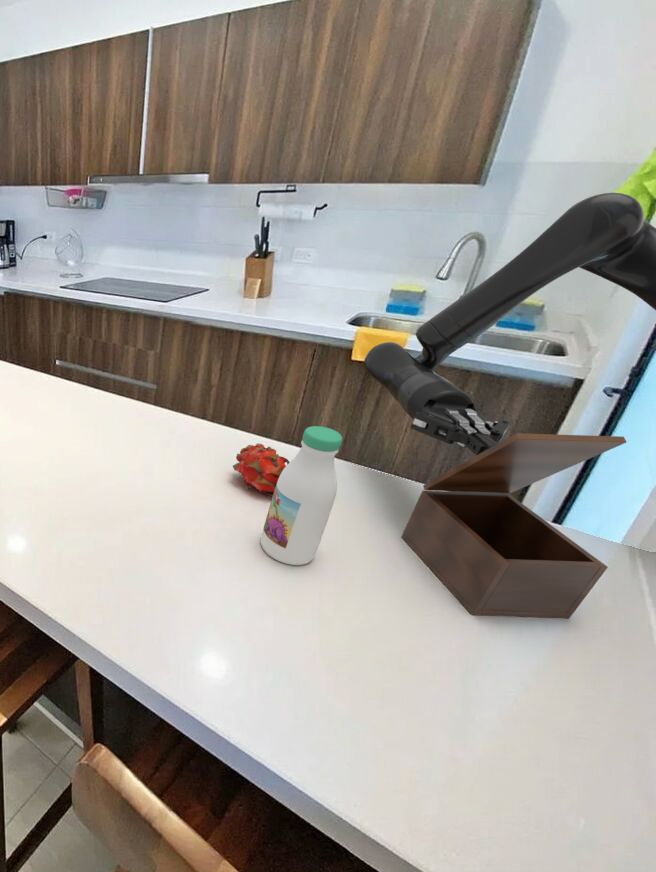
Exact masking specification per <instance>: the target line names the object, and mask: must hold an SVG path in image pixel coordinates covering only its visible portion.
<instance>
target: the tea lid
mask: <svg viewBox="0 0 656 872" xmlns="http://www.w3.org/2000/svg"><path fill="white" fill-rule="evenodd" d="M626 443H627V440H626V438H625V436H616V435H613V436H612V435H584V434H583V435H582V434H581V435H580V434H553V433H552V434H550V433H523V432H522V433H519V432H518V433H517V432H516V433H514V434H512V435H511V436H509V437H507V438H505V439H502V440H501V441H500V442H499V443H498V444H496V445H494V446H493V447H491V448H489V449H487V450H485V451H484V452H482V453H480V454H478V455H475V456H473V457H471V458H469V459H467V460H466V461H464V462H462V463H461V464H459V465H457V466H455V467H453V468H452V469H450V470H448V471H447V472H444V473H443V474H441V475H439V476H437V477H436V478H434V479H432V480H430V481H428V482H427V483H425V484H423V486H422V487H423V491H452V492H483V493H508V494H512V493H514V492H517V491H519V490H521V489H523V488H526V487H528V486H530V485H532V484H534V483H537V482H540V481H542V480H543V479H547V478H548V477H551V476H553V475H555V474H557V473H560V472H562V471H565V470H566V469H569V468H571V467H574V466H576V465H578V464H580V463H583V462H585V461H588V460H590V459H592V458H594V457H597V456H599V455H601V454H603V453H605V452H608V451H610V450H613V449H615V448H617V447H619V446H622V445H624V444H626Z"/></svg>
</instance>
